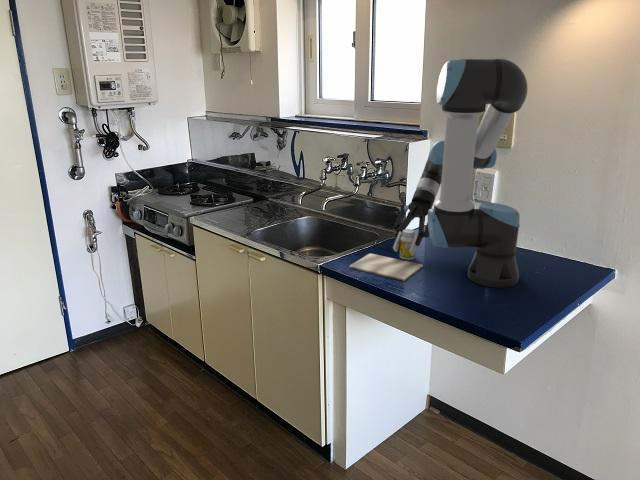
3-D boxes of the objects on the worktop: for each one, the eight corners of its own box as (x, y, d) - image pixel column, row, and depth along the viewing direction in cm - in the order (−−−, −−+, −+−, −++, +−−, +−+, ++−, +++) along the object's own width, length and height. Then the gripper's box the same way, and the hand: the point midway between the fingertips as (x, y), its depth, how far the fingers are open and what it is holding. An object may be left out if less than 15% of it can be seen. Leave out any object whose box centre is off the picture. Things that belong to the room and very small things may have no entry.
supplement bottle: (415, 260, 176) (417, 233, 173) (400, 259, 177) (401, 233, 174) (414, 254, 181) (415, 228, 178) (398, 254, 182) (400, 228, 179)
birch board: (422, 266, 171) (423, 264, 171) (404, 280, 160) (404, 279, 160) (369, 254, 182) (369, 253, 181) (349, 267, 171) (349, 265, 171)
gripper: (452, 203, 180) (431, 261, 173) (404, 196, 190) (382, 251, 183) (448, 191, 175) (425, 251, 167) (398, 185, 184) (375, 241, 177)
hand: (403, 251), depth 175 cm, fingers closed on supplement bottle, 5 cm apart
